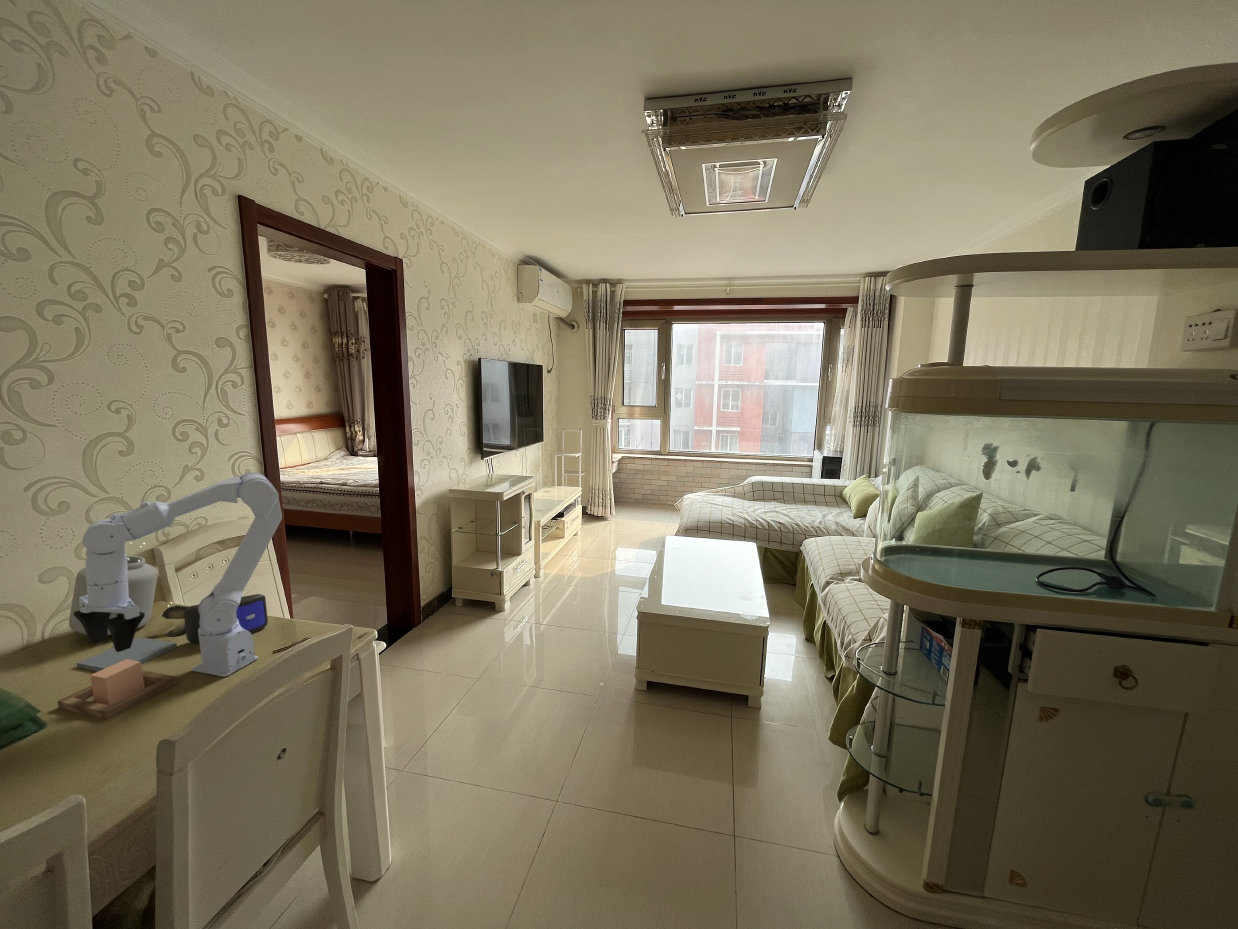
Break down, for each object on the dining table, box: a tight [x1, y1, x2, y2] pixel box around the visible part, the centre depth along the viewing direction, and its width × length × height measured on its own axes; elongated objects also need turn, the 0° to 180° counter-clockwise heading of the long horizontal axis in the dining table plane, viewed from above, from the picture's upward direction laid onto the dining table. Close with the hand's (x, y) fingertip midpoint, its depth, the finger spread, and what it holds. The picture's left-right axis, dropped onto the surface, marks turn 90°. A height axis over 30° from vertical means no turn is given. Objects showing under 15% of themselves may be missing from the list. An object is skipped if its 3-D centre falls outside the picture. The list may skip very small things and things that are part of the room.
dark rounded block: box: [184, 593, 269, 644], centre depth 124 cm, size 16×5×9 cm, turn 123°
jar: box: [68, 542, 173, 636], centre depth 127 cm, size 19×15×25 cm
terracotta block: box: [89, 659, 145, 706], centre depth 101 cm, size 4×6×6 cm, turn 167°
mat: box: [76, 636, 178, 672], centre depth 115 cm, size 12×12×1 cm
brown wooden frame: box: [57, 669, 178, 720], centre depth 101 cm, size 13×12×2 cm
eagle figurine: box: [161, 605, 188, 637], centre depth 129 cm, size 8×7×9 cm
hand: (110, 645), depth 100 cm, fingers open, 7 cm apart
